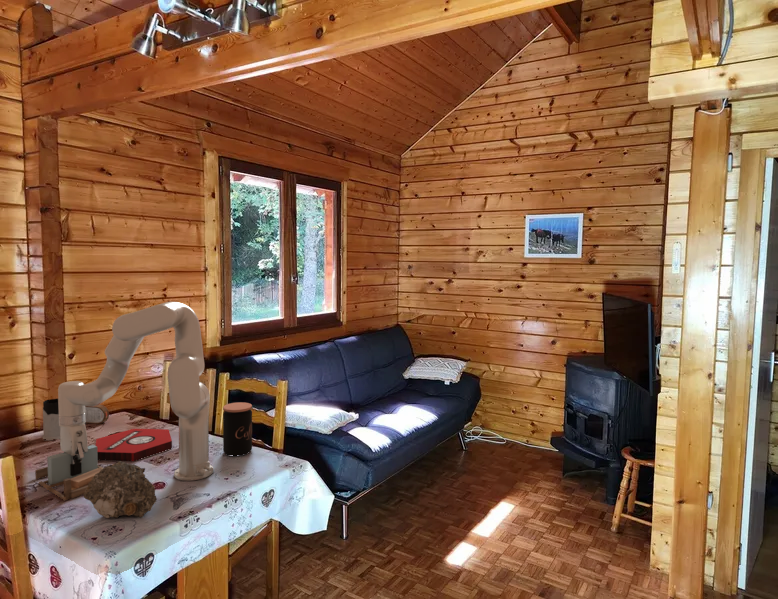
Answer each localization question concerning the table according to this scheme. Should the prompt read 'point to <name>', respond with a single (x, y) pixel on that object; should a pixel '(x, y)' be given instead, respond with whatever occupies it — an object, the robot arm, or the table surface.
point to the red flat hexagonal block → (133, 444)
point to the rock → (121, 491)
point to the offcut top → (84, 478)
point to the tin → (96, 414)
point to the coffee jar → (237, 428)
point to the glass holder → (51, 419)
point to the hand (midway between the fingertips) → (73, 472)
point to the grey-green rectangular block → (61, 465)
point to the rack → (67, 484)
